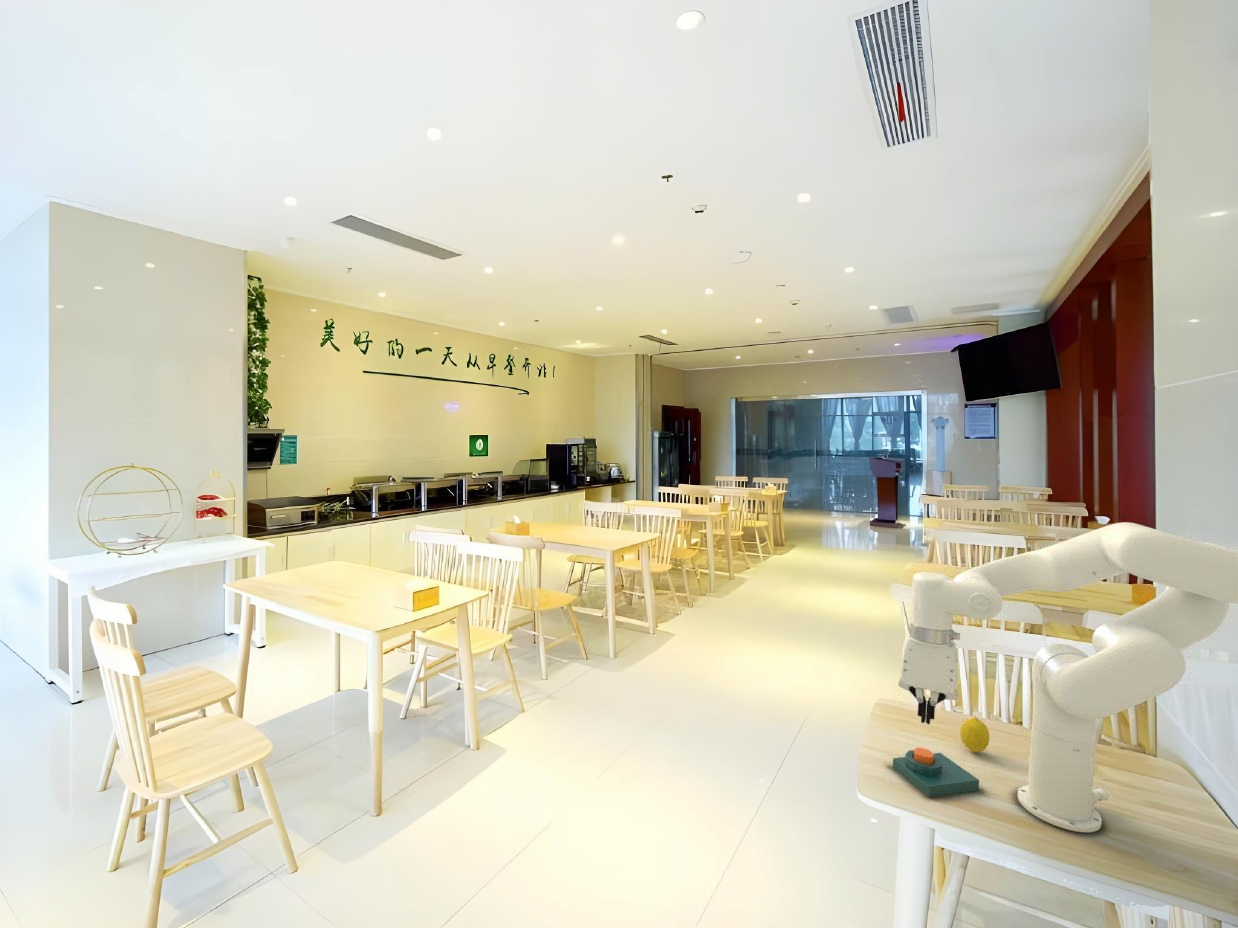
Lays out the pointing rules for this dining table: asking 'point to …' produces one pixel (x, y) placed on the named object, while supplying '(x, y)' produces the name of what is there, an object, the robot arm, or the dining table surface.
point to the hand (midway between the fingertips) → (925, 720)
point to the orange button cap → (923, 756)
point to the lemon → (974, 735)
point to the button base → (935, 775)
